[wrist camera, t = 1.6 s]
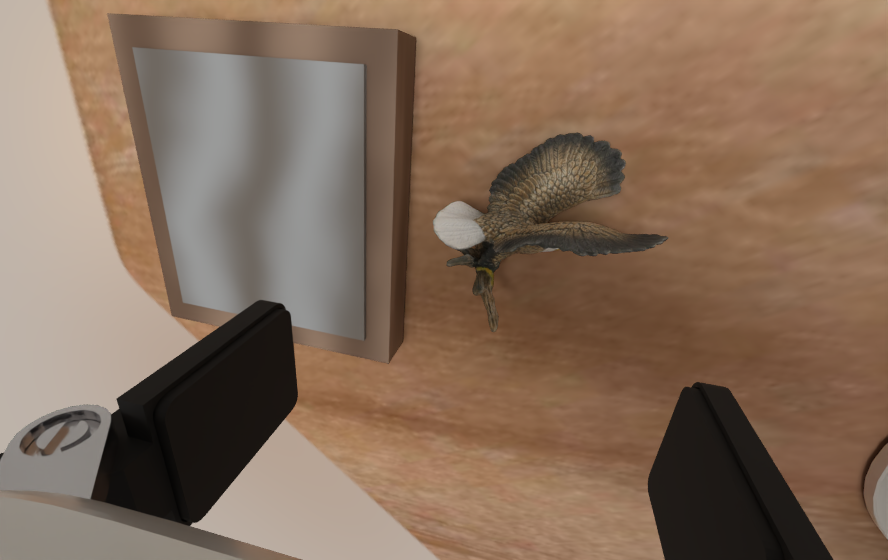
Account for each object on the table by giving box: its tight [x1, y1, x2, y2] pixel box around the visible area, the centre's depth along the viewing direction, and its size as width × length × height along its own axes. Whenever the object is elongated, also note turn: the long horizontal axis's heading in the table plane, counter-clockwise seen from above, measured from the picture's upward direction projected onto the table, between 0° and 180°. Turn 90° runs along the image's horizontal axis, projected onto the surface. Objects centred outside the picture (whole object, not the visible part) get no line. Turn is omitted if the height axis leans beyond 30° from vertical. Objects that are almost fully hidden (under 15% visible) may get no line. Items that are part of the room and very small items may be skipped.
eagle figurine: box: [433, 133, 668, 332], centre depth 20 cm, size 8×7×9 cm
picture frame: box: [107, 13, 416, 364], centre depth 25 cm, size 16×18×3 cm
